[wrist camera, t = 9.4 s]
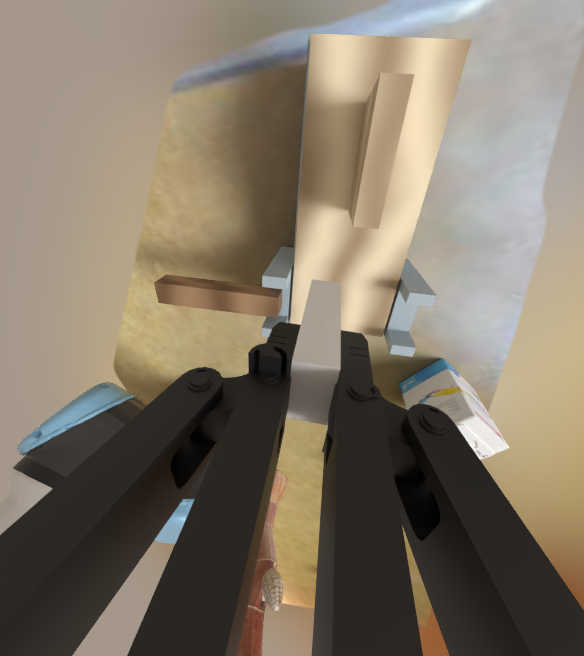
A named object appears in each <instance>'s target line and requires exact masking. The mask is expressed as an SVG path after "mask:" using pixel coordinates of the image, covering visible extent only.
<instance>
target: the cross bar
mask: <svg viewBox="0 0 584 656" xmlns="http://www.w3.org/2000/svg"><path fill="white" fill-rule="evenodd" d="M154 284H155V288H156V293H157V297H158V302H159V303H164V304H172V305H179V306H187V307H195V308H203V309H211V310H219V311H227V312H234V313H242V314H250V315H258V316H266V317H274V318H278V316H279V313H280V310H281V305H282V289H276V288H268V287H262V286H257V285H248V284H240V283H231V282H223V281H215V280H206V279H198V278H189V277H181V276H172V275H165V276H164V277H162V278H161V279H159V280H158V281H156V282H154Z"/></svg>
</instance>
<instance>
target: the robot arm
mask: <svg viewBox="0 0 584 656" xmlns="http://www.w3.org/2000/svg"><path fill="white" fill-rule="evenodd" d="M368 350H369V349H368V342H367V340H366V339H365V337H364V336H363V335H362V333H356V332H350V331H343V330H341V283H335V282H328V281H321V280H313V279H312V281H311V285H310V289H309V294H308V298H307V302H306V306H305V310H304V314H303V318H302V322H301V325H299V324H292V323H285V322H279V323H278V324H276V325H275V326H274V327H273V328H272V330H271V333H270V336H269V338H268V340H267V343H265V344H260V345H257V346H255V347H254V348H252V349H251V350H250V352H249V353H248V354H249V373H248V374H246V375H243V376H240V377H232V378H222V376H221V375H220V373H219V372H218V371H216V370H214V369H212V368H207V367H203V368H196V369H192V370H189V371H188V372H186V373H185V374H183V375H182V376H181V377H179V378H178V379H177V380H176V381H175V382H174V383H173V384H172V385H170V386H169V387H168V388H167V389H166V390H165V391H164V392H162V393H161V394H160V395H159V396H158V397H157V398H156V399H154V400H153V401H152V402H151V403H150V404H149V405H146V404H145V403H144V402H142V401H141V400H139V399H138V398H136V395H135V394H130V393H129V392H127V391H126V390H124V389H122V388H121V387H119V386H117V385H115V384H113V383H101V384H98V385H96V386H94V387H93V388H91V389H89V390H88V391H86V392H85V393H83V394H82V395H80V396H79V397H78V398H76V399H75V400H73V401H72V402H70V403H69V404H68V405H66V406H65V407H64V408H62V409H61V410H60V411H58V412H57V413H56V414H55V415H53V416H52V417H50V418H49V419H48V420H47V421H45V422H44V423H43V424H42V425H40V427H39V428H37V429H36V430H35V431H34V432H32V433H31V434H30V435H28V436H27V437H26V438H25V439H23V440H22V441H21V442H20V443H19V445H18V448H17V449H18V451H19V454H20V455H26V456H25V457H24V458H23V459H22V460H21V461H19V462H18V464H17V465H15V466H14V467H13V468H12V469H11V470H10V472H9V487H8V490H7V493H6V495H5V496H4V497H3V498H2V499H1V500H0V656H72V655H73V654H74V652H75V651H76V649H77V648H78V646H79V645H80V644H81V642H82V641H83V640H84V638H85V637H86V635H87V634H88V632H89V631H90V629H91V628H92V627H93V625H94V624H95V623H96V621H97V620H98V618H99V617H100V615H101V614H102V613H103V611H104V610H105V609H106V607H107V606H108V604H109V603H110V601H111V600H112V598H113V597H114V596H115V595H116V593H117V592H118V590H119V589H120V588H121V586H122V585H123V583H124V582H125V580H126V579H127V578H128V576H129V575H130V573H131V572H132V571H133V569H134V568H135V566H136V565H137V564H138V562H139V561H140V559H141V558H142V557H143V555H144V554H145V552H146V551H147V550H148V548H149V547H150V545H151V544H152V542H153V541H158V542H164V543H176V544H175V546H174V548H173V551H172V553H171V555H170V558H169V560H168V562H167V565H166V567H165V569H164V572H163V574H162V576H161V578H160V581H159V583H158V586H157V588H156V590H155V592H154V595H153V597H152V599H151V602H150V604H149V607H148V609H147V611H146V613H145V616H144V619H143V621H142V623H141V625H140V627H139V630H138V632H137V634H136V637H135V639H134V641H133V644H132V646H131V648H130V651H129V653H128V655H127V656H237V655H238V650H239V645H240V640H241V635H242V631H243V626H244V621H245V616H246V611H247V607H248V602H249V597H250V592H251V587H252V583H253V578H254V573H255V568H256V563H257V559H258V554H259V549H260V544H261V539H262V535H263V530H264V525H265V520H266V515H267V511H268V506H269V501H270V496H271V492H272V487H273V482H274V477H275V472H276V468H277V463H278V458H279V453H280V448H281V444H282V439H283V434H284V427H285V420H286V418H291V419H297V420H302V421H308V422H313V423H318V424H324V425H327V422H328V430H327V434H326V438H325V442H324V446H323V450H322V452H324V468H323V484H322V500H321V516H320V532H319V548H318V564H317V580H316V596H315V612H314V629H313V644H312V656H423V653H422V647H421V641H420V634H419V628H418V622H417V616H416V609H415V603H414V597H413V591H412V585H411V578H410V572H409V566H408V560H407V554H406V547H405V541H404V535H403V529H402V525H403V528H404V531H405V533H406V536H407V539H408V542H409V544H410V547H411V550H412V553H413V556H414V558H415V561H416V564H417V567H418V569H419V572H420V575H421V578H422V580H423V583H424V586H425V589H426V591H427V594H428V597H429V600H430V602H431V605H432V608H433V611H434V613H435V616H436V619H437V622H438V625H439V627H440V630H441V633H442V635H443V638H444V641H445V644H446V647H447V649H448V652H449V655H450V656H584V610H583V609H582V607H581V606H580V604H579V603H578V601H577V600H576V599H575V597H574V596H573V594H572V593H571V591H570V590H569V589H568V587H567V585H566V584H565V582H564V581H563V580H562V578H561V577H560V575H559V574H558V572H557V571H556V570H555V568H554V567H553V565H552V564H551V562H550V561H549V559H548V558H547V556H546V555H545V553H544V552H543V551H542V549H541V548H540V546H539V545H538V543H537V542H536V541H535V539H534V538H533V536H532V535H531V533H530V532H529V530H528V529H527V527H526V526H525V525H524V523H523V522H522V520H521V519H520V517H519V516H518V514H517V513H516V511H515V510H514V509H513V507H512V506H511V504H510V503H509V501H508V500H507V498H506V497H505V496H504V494H503V493H502V491H501V490H500V488H499V487H498V485H497V484H496V483H495V481H494V480H493V478H492V477H491V475H490V474H489V472H488V471H487V469H486V468H485V466H484V465H483V464H482V462H481V461H480V459H479V458H478V456H477V455H476V453H475V452H474V450H473V449H472V448H471V446H470V445H469V443H468V442H467V440H466V439H465V437H464V436H463V435H462V433H461V432H460V430H459V429H458V427H457V426H456V424H455V423H454V422H453V421H452V419H451V418H450V417H449V416H448V415H447V414H446V413H444V412H443V411H441V410H440V409H438V408H436V407H433V406H431V405H426V404H416V405H413V406H412V407H411V408H409V409H408V410H406V409H404V408H402V407H399V406H397V405H395V404H393V403H391V402H389V401H387V400H386V399H384V398H383V397H382V396H381V394H380V392H379V389H378V388H377V387H376V386H375V385H374V384H373V378H372V370H371V363H370V358H369V351H368Z"/></svg>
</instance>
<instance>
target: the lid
mask: <svg viewBox="0 0 584 656" xmlns="http://www.w3.org/2000/svg"><path fill="white" fill-rule="evenodd" d="M470 44H471V40H463V39H437V38H411V37H386V36H360V35H334V34H311V42H310V56H309V70H308V83H307V97H306V111H305V124H304V138H303V152H302V165H301V179H300V193H299V206H298V220H297V234H296V248H295V261H294V275H293V289H292V302H291V316H290V323H292V324H299V325H301V322H302V318H303V314H304V310H305V306H306V302H307V298H308V294H309V289H310V285H311V281H312V279H313V280H321V281H328V282H335V283H341V330H343V331H350V332H356V333H362V335H370V336H378V337H382V336H383V333H384V330H385V326H386V323H387V320H388V316H389V313H390V310H391V306H392V303H393V300H394V297H395V293H396V290H397V287H398V283H399V280H400V277H401V273H402V270H403V267H404V263H405V260H406V257H407V253H408V250H409V247H410V243H411V240H412V237H413V233H414V230H415V227H416V223H417V220H418V217H419V213H420V210H421V207H422V203H423V200H424V197H425V193H426V190H427V187H428V183H429V180H430V177H431V173H432V170H433V167H434V163H435V160H436V157H437V153H438V150H439V147H440V143H441V140H442V137H443V133H444V130H445V127H446V123H447V120H448V117H449V113H450V110H451V107H452V103H453V100H454V97H455V93H456V90H457V87H458V83H459V80H460V77H461V73H462V70H463V67H464V63H465V60H466V57H467V54H468V50H469V47H470Z"/></svg>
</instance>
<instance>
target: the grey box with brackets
mask: <svg viewBox="0 0 584 656" xmlns="http://www.w3.org/2000/svg"><path fill="white" fill-rule="evenodd" d="M310 42H311V34H309V39H308V54H307V68H306V82H305V97H304V111H303V125H302V139H301V154H300V168H299V182H298V197H297V211H296V225H295V239H294V248H293V247H284V246H281V248H280V249H279V251H278V252H277V254H276V256H275V257H274V259H273V260H272V262H271V263H270V265H269V266H268V268H267V269H266V271H265V272H264V274H263V275H262V287H268V288H276V289H282V305H281V310H280V313H279V316H278V318H274V317H267V318H266V320H265V322H264V324H263V326H262V337H268V338H269V336H270V333H271V330H272V328H273V327H274V326H275V325H276V324H278V323H279V322H285V323H288V321H289V322H290V316H291V302H292V289H293V275H294V261H295V248H296V234H297V220H298V206H299V193H300V179H301V165H302V152H303V138H304V124H305V111H306V97H307V83H308V70H309V56H310ZM435 299H436V294H435V293H434V292H433V290H432V289H431V288H430V287H429V285H428V284H427V283H426V282H425V280H424V279H423V278H422V276H421V275H420V274H419V273H418V271H417V270H416V269H415V268H414V266H413V265H412V264H411V262H410V261H409V260H407V259H406V260H405V263H404V267H403V270H402V273H401V277H400V280H399V283H398V287H397V290H396V293H395V297H394V300H393V303H392V306H391V310H390V313H389V316H388V320H387V323H386V326H385V330H384V336H385V340H386V343H387V347H388V350H389V353H390V354H395V355H403V356H410V357H413V355H414V352H415V350H416V347H415V344H414V342H413V340H412V338H411V336H410V333H409V330H410V327H411V324H412V322H413V319H414V316H415V313H416V311H417V308H418V305H420V306H428V307H432V306H433V304H434V301H435Z"/></svg>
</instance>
